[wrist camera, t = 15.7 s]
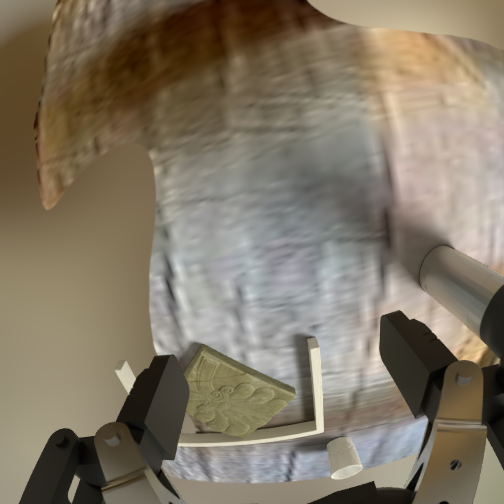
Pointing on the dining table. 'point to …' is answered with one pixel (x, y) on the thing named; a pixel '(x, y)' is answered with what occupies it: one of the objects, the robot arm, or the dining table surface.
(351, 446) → the white cup
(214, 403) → the decorative tile
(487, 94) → the dining table surface
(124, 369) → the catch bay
